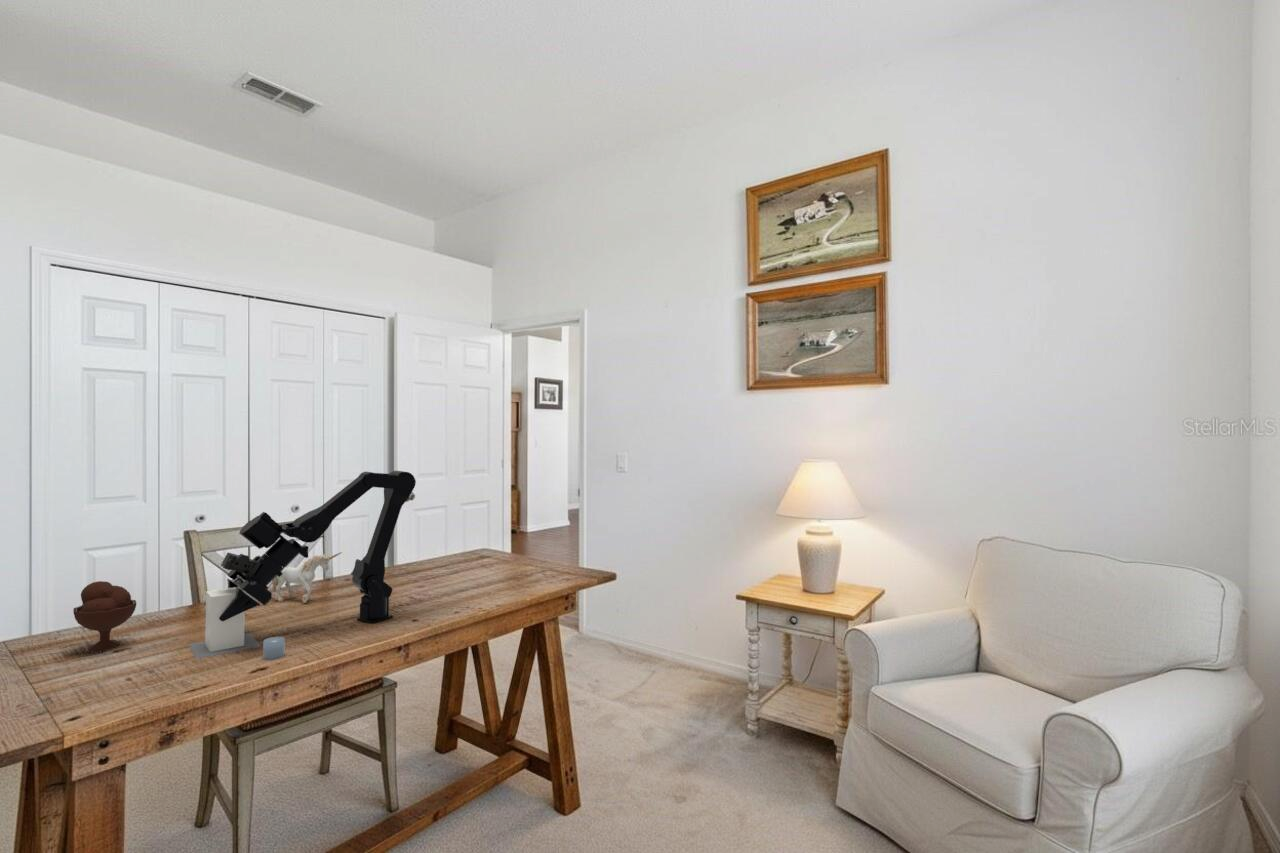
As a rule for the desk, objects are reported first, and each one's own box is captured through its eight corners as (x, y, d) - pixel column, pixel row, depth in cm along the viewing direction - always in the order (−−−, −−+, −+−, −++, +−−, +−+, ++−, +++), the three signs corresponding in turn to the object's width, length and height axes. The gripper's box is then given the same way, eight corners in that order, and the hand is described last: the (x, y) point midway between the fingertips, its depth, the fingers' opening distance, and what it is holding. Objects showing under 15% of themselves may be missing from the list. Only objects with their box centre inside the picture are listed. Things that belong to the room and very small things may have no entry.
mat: (249, 634, 149) (249, 633, 149) (261, 648, 141) (261, 646, 141) (188, 645, 141) (188, 644, 141) (196, 660, 132) (196, 658, 132)
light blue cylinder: (276, 653, 137) (277, 635, 137) (288, 656, 136) (288, 638, 136) (258, 659, 134) (259, 640, 134) (270, 662, 132) (271, 643, 132)
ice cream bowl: (99, 658, 133) (101, 588, 133) (58, 654, 135) (59, 584, 135) (148, 642, 143) (149, 577, 143) (108, 638, 145) (110, 574, 145)
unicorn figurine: (332, 603, 177) (333, 556, 177) (259, 605, 174) (260, 557, 174) (341, 597, 184) (342, 551, 184) (271, 598, 181) (272, 552, 182)
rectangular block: (238, 638, 145) (239, 586, 145) (244, 645, 141) (245, 592, 141) (205, 644, 141) (206, 591, 141) (210, 652, 136) (211, 597, 136)
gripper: (238, 534, 151) (181, 587, 143) (256, 545, 137) (193, 604, 129) (274, 562, 156) (221, 615, 148) (295, 575, 142) (237, 634, 135)
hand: (217, 616), depth 140 cm, fingers closed on rectangular block, 6 cm apart
